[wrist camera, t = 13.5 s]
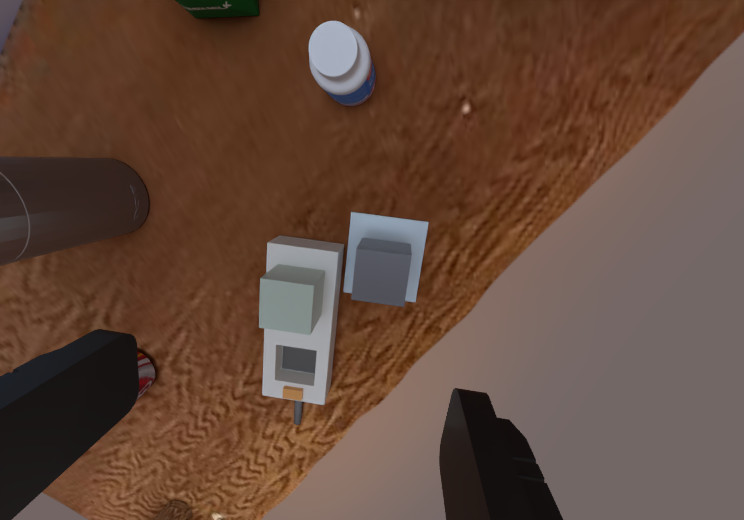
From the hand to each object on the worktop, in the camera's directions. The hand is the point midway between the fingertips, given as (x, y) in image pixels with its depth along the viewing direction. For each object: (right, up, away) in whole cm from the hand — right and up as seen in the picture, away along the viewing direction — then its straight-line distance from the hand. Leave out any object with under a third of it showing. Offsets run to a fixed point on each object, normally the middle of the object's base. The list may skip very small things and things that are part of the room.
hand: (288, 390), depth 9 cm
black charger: (+4, +3, +33) cm, 33 cm away
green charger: (-6, +1, +33) cm, 34 cm away
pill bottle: (0, +22, +28) cm, 36 cm away
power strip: (-7, -7, +37) cm, 38 cm away
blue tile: (+4, +4, +33) cm, 33 cm away
